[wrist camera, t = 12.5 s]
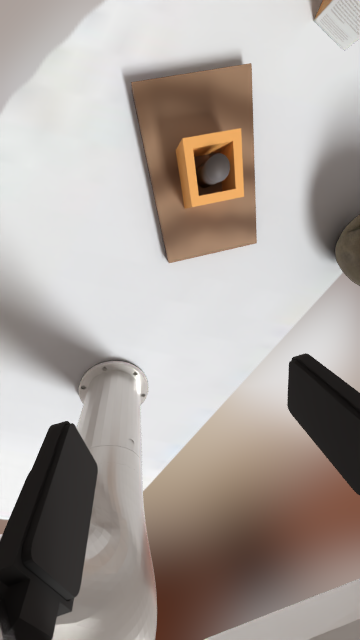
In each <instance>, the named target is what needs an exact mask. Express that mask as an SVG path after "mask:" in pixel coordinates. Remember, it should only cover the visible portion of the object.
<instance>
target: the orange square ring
mask: <svg viewBox="0 0 360 640" xmlns="http://www.w3.org/2000/svg"><path fill="white" fill-rule="evenodd" d="M218 152H219V153H221V154H224V155H225V156H226V157H227V158H228V160H229V163H230V171H229V174H228V176H227V177H226V178H225V179H224V180H223V181H222V192H217V193H212V194H207V195H202V196H199V193H198V185H197V177H196V169H195V161H194V157H196V156H201V155H207V154H212V153H218ZM176 156H177V163H178V169H179V176H180V182H181V189H182V195H183V202H184V208H185V209H186V208H191V207H196V206H201V205H206V204H211V203H216V202H220V201H225V200H230V199H235V198H240V197H244V182H243V159H242V136H241V128H239V129H233V130H227V131H222V132H216V133H210V134H204V135H199V136H193V137H187V138H182V140H181V142H180V143H179V145H178V147H177V149H176Z"/></svg>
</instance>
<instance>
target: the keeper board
mask: <svg viewBox="0 0 360 640" xmlns="http://www.w3.org/2000/svg"><path fill="white" fill-rule="evenodd" d="M131 84H132V93H133V98H134V103H135V108H136V112H137V117H138V122H139V127H140V132H141V136H142V141H143V146H144V151H145V155H146V160H147V165H148V170H149V174H150V179H151V184H152V189H153V193H154V198H155V203H156V208H157V212H158V217H159V222H160V227H161V231H162V236H163V241H164V246H165V251H166V255H167V260H168V262H169V263H172V262H176V261H181V260H185V259H190V258H194V257H198V256H203V255H207V254H211V253H216V252H220V251H224V250H229V249H233V248H237V247H242V246H246V245H250V244H255V243H257V239H256V204H255V170H254V136H253V102H252V68H251V63H250V64H244V65H237V66H231V67H225V68H218V69H212V70H206V71H199V72H193V73H187V74H180V75H174V76H168V77H162V78H155V79H149V80H143V81H136V82H131ZM239 128H241V136H242V159H243V182H244V197H240V198H235V199H230V200H225V201H220V202H216V203H211V204H206V205H201V206H196V207H191V208H186V209H185V208H184V202H183V195H182V189H181V182H180V176H179V169H178V163H177V156H176V149H177V147H178V145H179V143H180V142H181V140H182V138H187V137H193V136H199V135H204V134H210V133H216V132H222V131H227V130H233V129H239ZM194 161H195V169H196V177H197V185H198V193H199V196H202V195H207V194H212V193H217V192H222V181H223V180H224V179H225V178H226V177H227V176H228V174H229V171H230V163H229V160H228V158H227V157H226V156H225V155H224V154H221V153H219V152H218V153H212V154H207V155H201V156H196V157H194Z"/></svg>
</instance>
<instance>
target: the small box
mask: <svg viewBox="0 0 360 640" xmlns="http://www.w3.org/2000/svg"><path fill="white" fill-rule="evenodd" d="M314 21H315V22H316V23H317V24H318V25H319V26H320V27H321V28H322V29H323V30H324V31H325V32H326V33H327V34H328V35H329V36H330V37H331V38H332V39H333V40H334V41H335V42H336V43H337V44H338V45H339V46H340V47H341V48H342V50H344V51H345V50H347V49H348V48H349V47H350V46H352V45H353V44H354V43H355V42H357V41H358V40H359V39H360V0H323V1H322V3H321V5H320V8H319V10H318V12H317V14H316V16H315V19H314Z"/></svg>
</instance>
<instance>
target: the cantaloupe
mask: <svg viewBox="0 0 360 640" xmlns="http://www.w3.org/2000/svg"><path fill="white" fill-rule="evenodd" d="M335 255H336V260H337V263H338V265H339V267H340V268H341V270H342V271H343V272H344V274H345V275H346V276H347V277H348V278H349V279H350V280H351V281H353V282H354V283H356V284H357V285H359V286H360V214H359V215H358V216H357V217H356V218H355V219H353V220H352V221H351V222H350V223H349V224H348V225H347V226H346V228H345V229H344V230H343V232H342V233H341V236H340V238H339V240H338V242H337V244H336V248H335Z"/></svg>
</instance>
